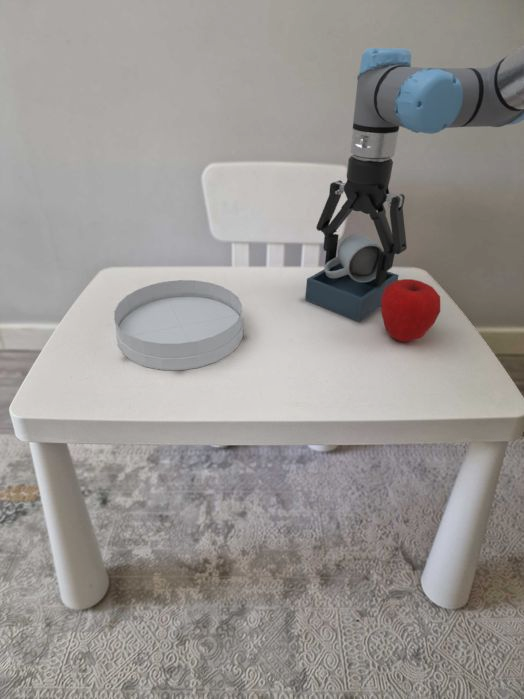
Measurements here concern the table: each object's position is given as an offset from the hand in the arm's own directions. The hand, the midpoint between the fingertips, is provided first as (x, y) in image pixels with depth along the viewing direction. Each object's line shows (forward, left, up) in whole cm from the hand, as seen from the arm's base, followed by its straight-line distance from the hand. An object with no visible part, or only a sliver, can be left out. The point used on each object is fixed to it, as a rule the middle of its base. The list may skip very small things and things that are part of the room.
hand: (353, 275), depth 90 cm
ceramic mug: (+1, 0, 0) cm, 1 cm away
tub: (0, 0, -5) cm, 5 cm away
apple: (-14, +6, -5) cm, 16 cm away
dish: (+16, +32, -5) cm, 36 cm away
